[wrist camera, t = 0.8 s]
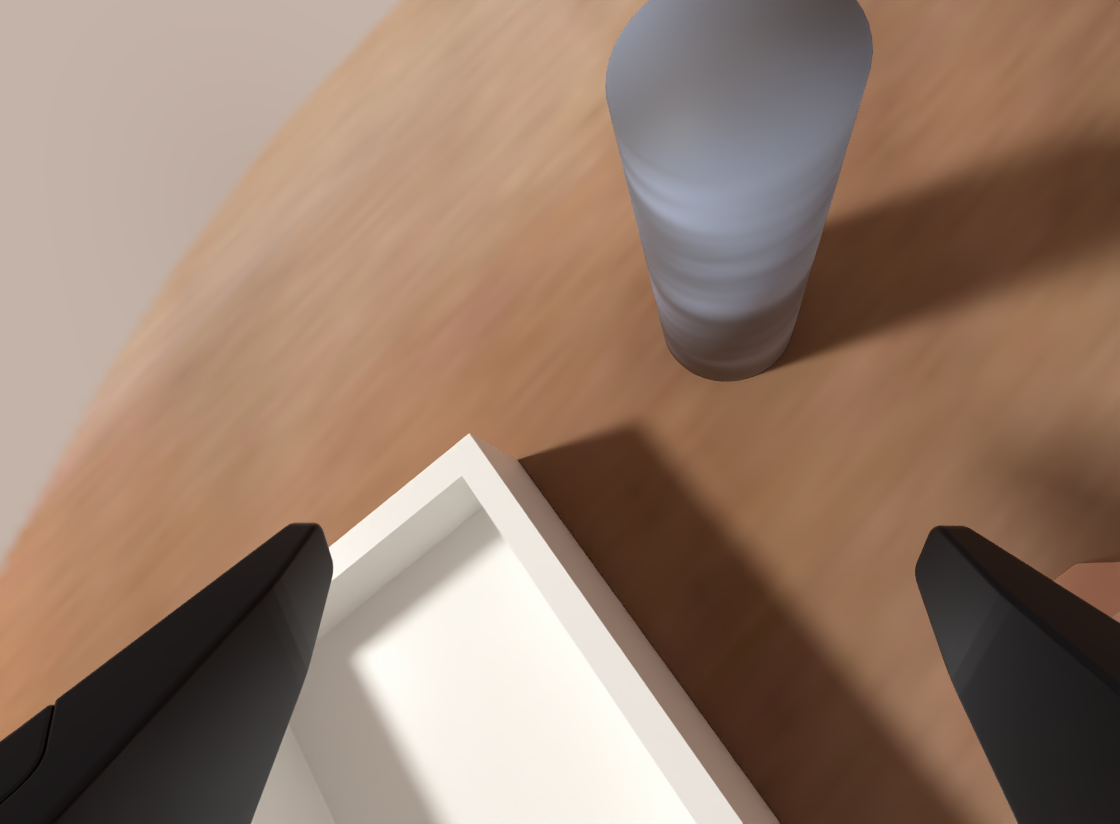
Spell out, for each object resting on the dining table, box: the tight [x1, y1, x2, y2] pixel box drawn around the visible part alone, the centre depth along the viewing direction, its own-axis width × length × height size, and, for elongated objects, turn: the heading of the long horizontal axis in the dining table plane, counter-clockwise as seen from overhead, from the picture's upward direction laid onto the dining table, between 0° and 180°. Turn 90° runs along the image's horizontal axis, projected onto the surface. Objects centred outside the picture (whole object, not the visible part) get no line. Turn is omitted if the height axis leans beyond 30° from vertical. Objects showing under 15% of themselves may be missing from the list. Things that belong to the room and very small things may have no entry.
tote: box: [251, 433, 780, 824], centre depth 20 cm, size 18×14×5 cm
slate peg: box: [605, 0, 873, 381], centre depth 18 cm, size 5×5×13 cm
